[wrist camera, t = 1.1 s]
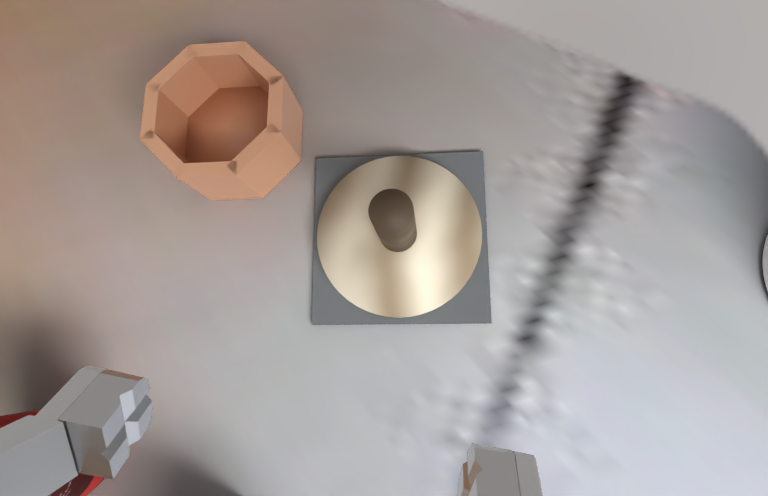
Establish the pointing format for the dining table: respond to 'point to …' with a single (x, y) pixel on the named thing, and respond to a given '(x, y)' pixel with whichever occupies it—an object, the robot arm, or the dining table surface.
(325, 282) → the mat
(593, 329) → the dining table surface
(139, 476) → the dining table surface
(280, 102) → the bowl
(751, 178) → the dining table surface
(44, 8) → the dining table surface
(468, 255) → the lid
